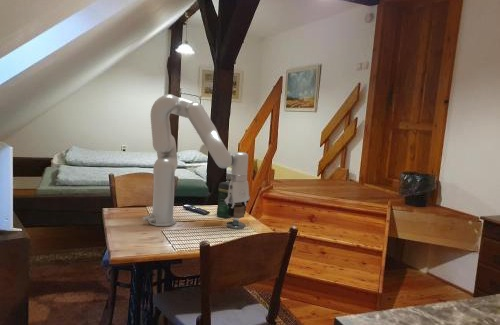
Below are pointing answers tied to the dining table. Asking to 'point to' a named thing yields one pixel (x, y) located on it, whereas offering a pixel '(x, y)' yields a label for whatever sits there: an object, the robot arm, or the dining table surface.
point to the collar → (238, 211)
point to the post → (235, 224)
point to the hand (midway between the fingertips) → (236, 214)
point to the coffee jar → (223, 200)
